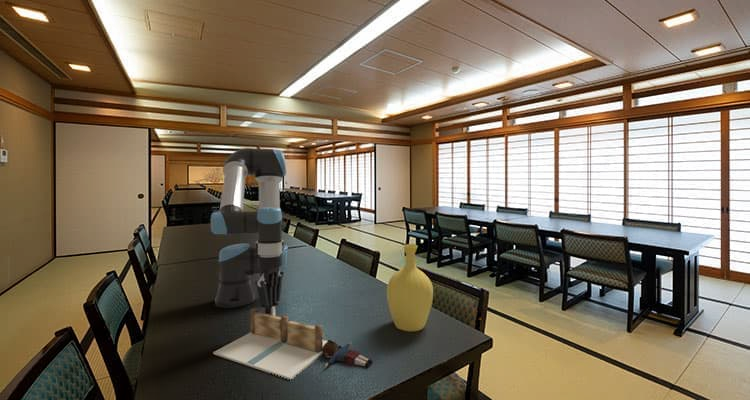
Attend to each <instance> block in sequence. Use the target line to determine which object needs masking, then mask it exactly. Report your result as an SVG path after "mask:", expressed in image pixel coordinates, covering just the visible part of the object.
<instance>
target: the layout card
mask: <svg viewBox="0 0 750 400" xmlns="http://www.w3.org/2000/svg"><path fill="white" fill-rule="evenodd" d="M327 341H328V340H326V339H325V340H324V339H323V346H324V344H325V343H327ZM212 354H213V355H215V356H218V357H221V358H224V359H227V360H229V361H232V362H236V363H238V364H241V365H245V366H247V367H250V368H253V369H256V370H260V371H262V372H266V373H268V374H271V373H272V375H274V374H275V375H274V376H277V375H278V376H277V377H280V376H281V377H280V378H283V377H284V378H283V379H286V378H287V379H286V380H289V379H290V380H289V381H291V379H292V380H293V379H294V378H295V377H296V375H297V374H298V375H299V374H301V372H302V370H303V371H304V370H305V369H306V368H308V367H309V366H310V365H312V363H314V362H315V361H317V359H319V358H320V357H321V356H322V355H323V353H322V351H321V352H316V351H314V350H311V349H307V348H303V347H300V346H296V345H293V344H289V343H288V341H285V342H283V341H281V340H279V339H275V338H271V337H268V336H264V335H260V334H257V333H251V331H250V332H249V333H247V334H245V335H243V336H241V337H239V338H237V339H235V340H233V341H232V342H230V343H228V344H226V345H224V346H222V347H221V348H219V349H217V350H215V351H213V353H212ZM298 375H297V376H298Z"/></svg>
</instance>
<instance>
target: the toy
mask: <svg viewBox="0 0 750 400" xmlns="http://www.w3.org/2000/svg"><path fill="white" fill-rule="evenodd" d="M326 341H327V343H325V344H324V346H323V348H322V353H323V354H322V355H323V356H324V357H325V358H330V359H329V360H328V361H327V362H326V363H325V365H324V366H325V368H327V367H328V366H329V365H331V364H333V363H335V362H337V361H338V362H342V363H346V364H348V365H351V366H355V365H357V366H363V367H365V368H367V369H369V367H370V366H372V364H373V359H371V358H367V357H365V356H363V355H362V354H361V352H360V351H356V350H354V349H353V350H352V349H349V347H350V346H351V345H352V342H349V343H347V344H346V345H344V346H342V345H339V344H337V342H335V341H334V340H332V339H327V340H326Z"/></svg>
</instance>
